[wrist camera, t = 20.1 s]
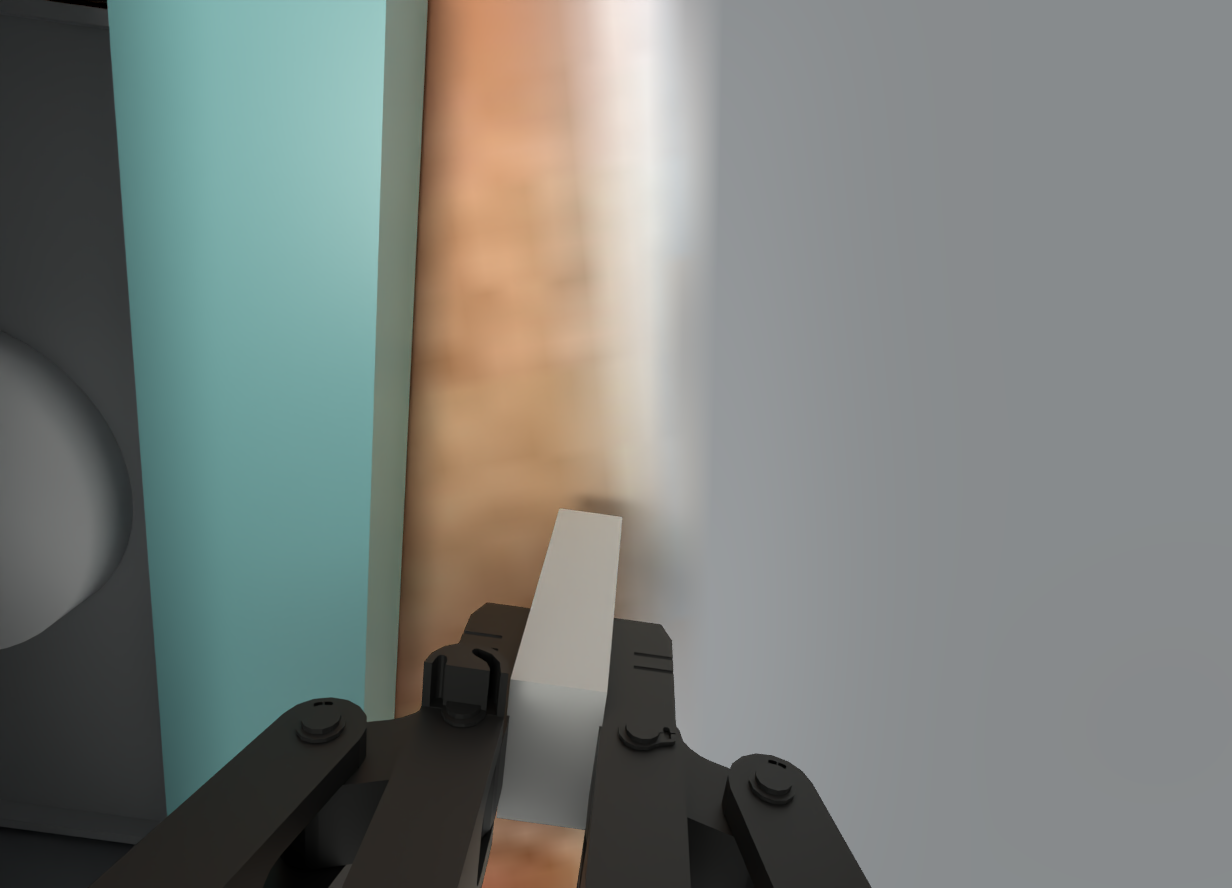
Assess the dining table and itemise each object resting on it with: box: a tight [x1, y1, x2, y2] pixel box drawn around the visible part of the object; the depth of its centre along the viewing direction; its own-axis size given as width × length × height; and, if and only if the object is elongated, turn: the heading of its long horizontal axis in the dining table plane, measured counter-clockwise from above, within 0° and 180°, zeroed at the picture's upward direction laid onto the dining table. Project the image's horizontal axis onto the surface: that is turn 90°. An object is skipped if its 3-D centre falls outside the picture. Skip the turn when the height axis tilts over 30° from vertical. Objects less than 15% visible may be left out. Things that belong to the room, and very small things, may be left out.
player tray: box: [0, 0, 428, 844], centre depth 18 cm, size 17×24×3 cm
